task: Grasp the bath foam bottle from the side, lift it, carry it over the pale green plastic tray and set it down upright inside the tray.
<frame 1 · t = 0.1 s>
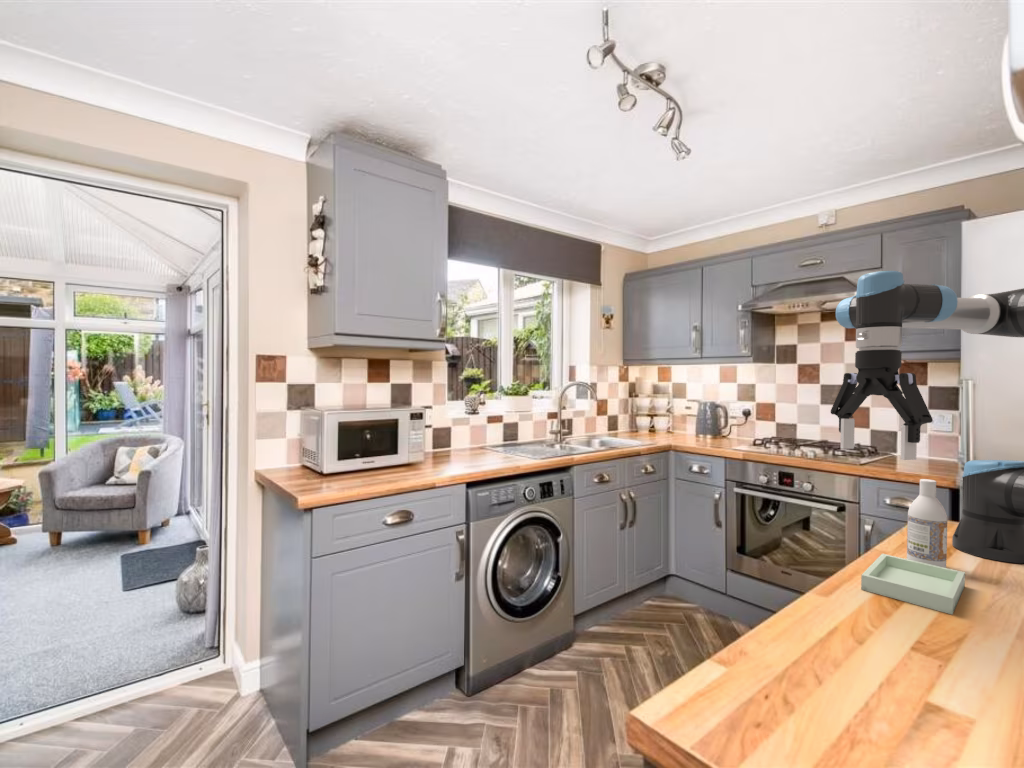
hand: (875, 453, 99), 28 cm above the countertop, fingers open, 13 cm apart
tray: (913, 587, 101), on the countertop
bath foam: (925, 567, 112), on the countertop
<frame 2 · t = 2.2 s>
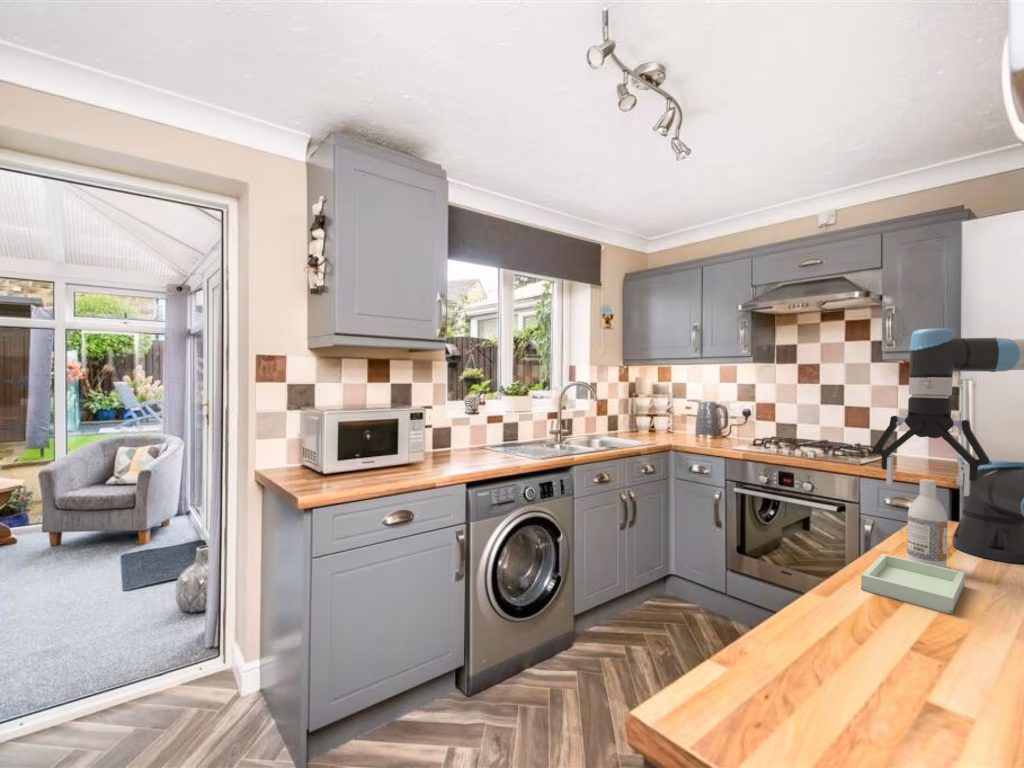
hand: (926, 489, 112), 18 cm above the countertop, fingers open, 13 cm apart
nothing on the countertop moved.
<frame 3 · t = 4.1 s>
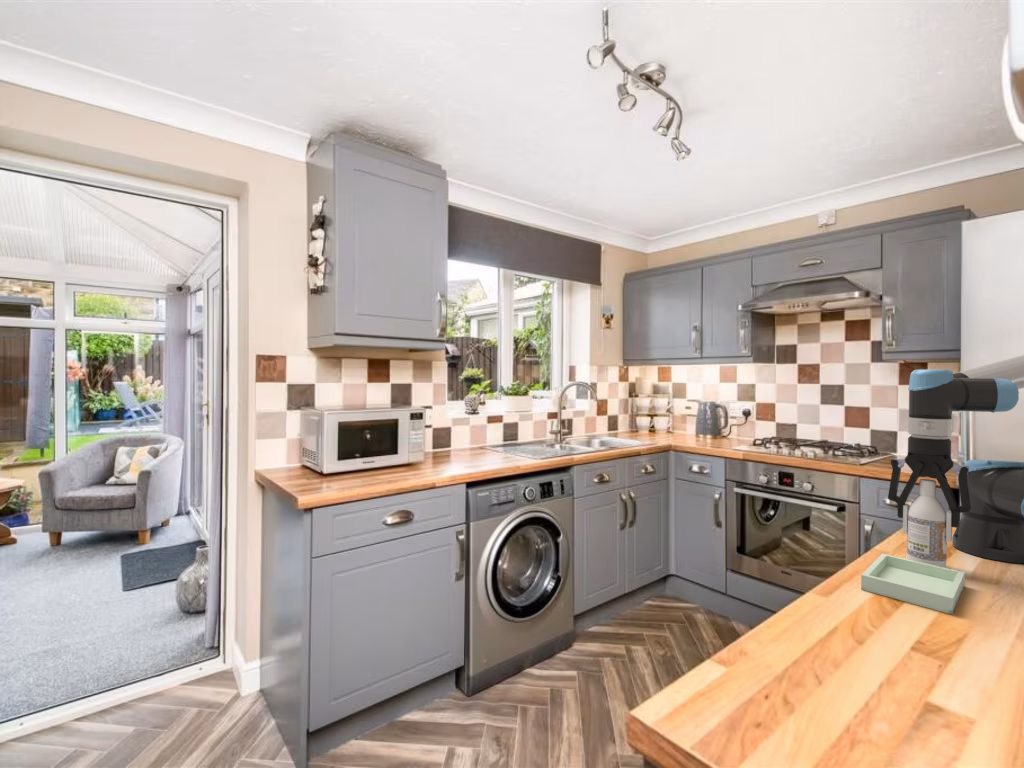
hand: (926, 536, 112), 7 cm above the countertop, fingers closed on bath foam, 7 cm apart
bath foam: (925, 567, 112), on the countertop, touching gripper
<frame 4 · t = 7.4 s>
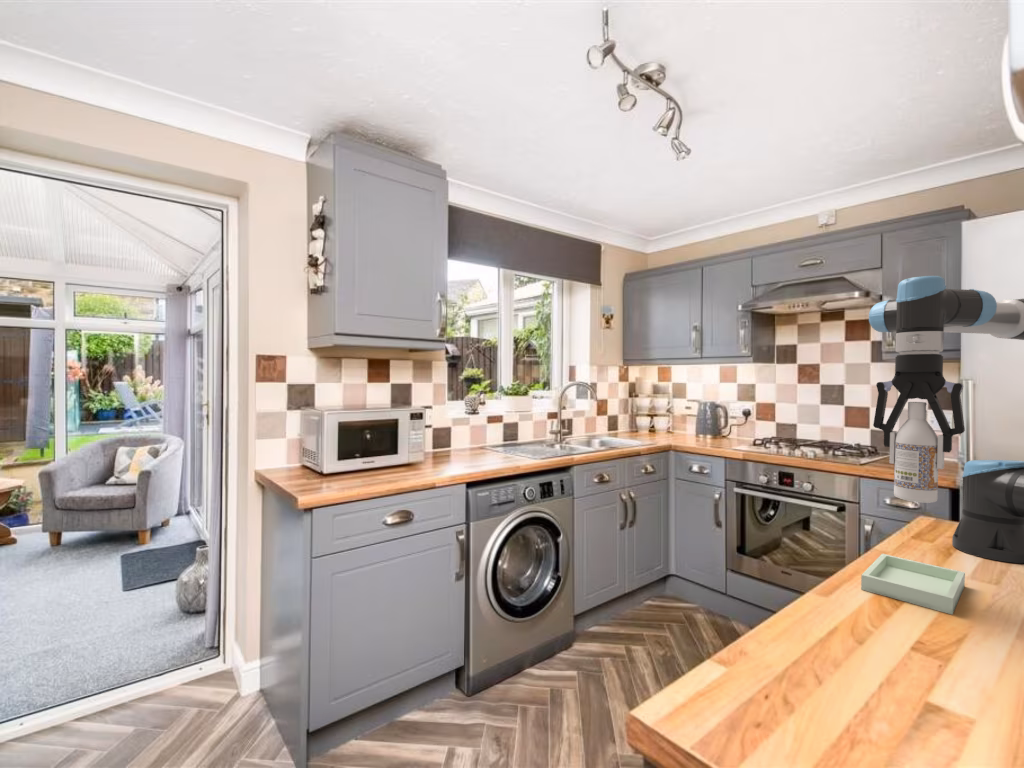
hand: (916, 465, 100), 25 cm above the countertop, fingers closed on bath foam, 7 cm apart
bath foam: (915, 500, 101), point 18 cm above the countertop, touching gripper
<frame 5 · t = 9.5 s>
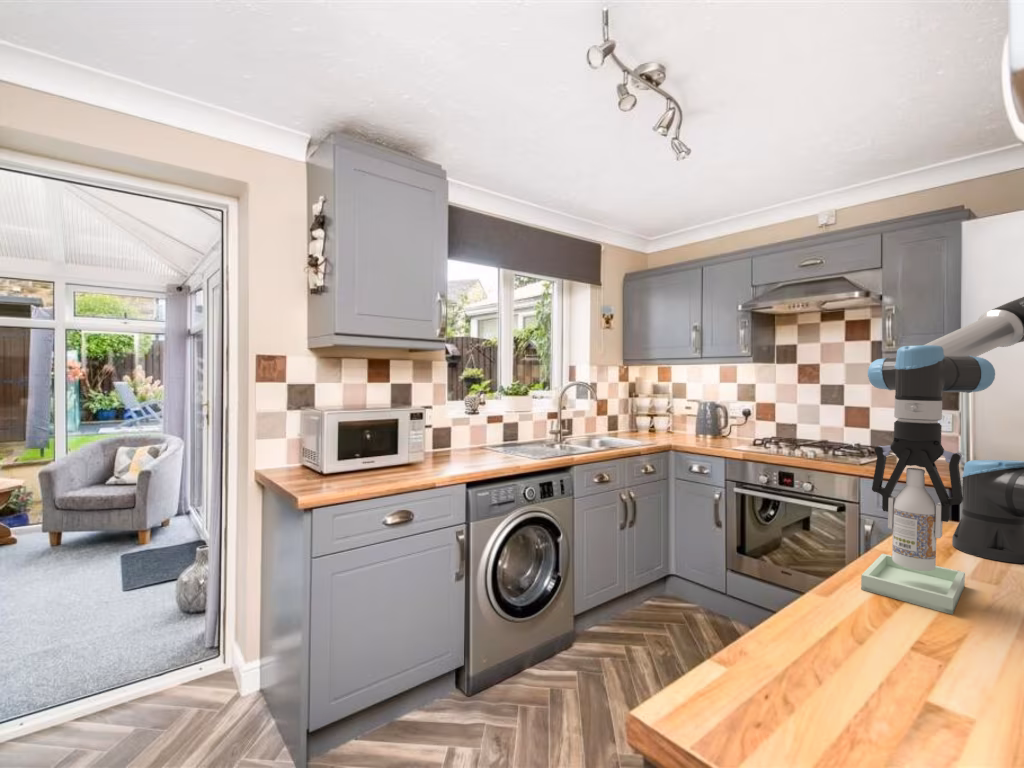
hand: (914, 531, 101), 12 cm above the countertop, fingers closed on bath foam, 7 cm apart
bath foam: (913, 566, 101), point 5 cm above the countertop, touching gripper
when the fingers open (9 cm above the countertop, at t = 11.0 s): bath foam drops 1 cm, resting on tray.
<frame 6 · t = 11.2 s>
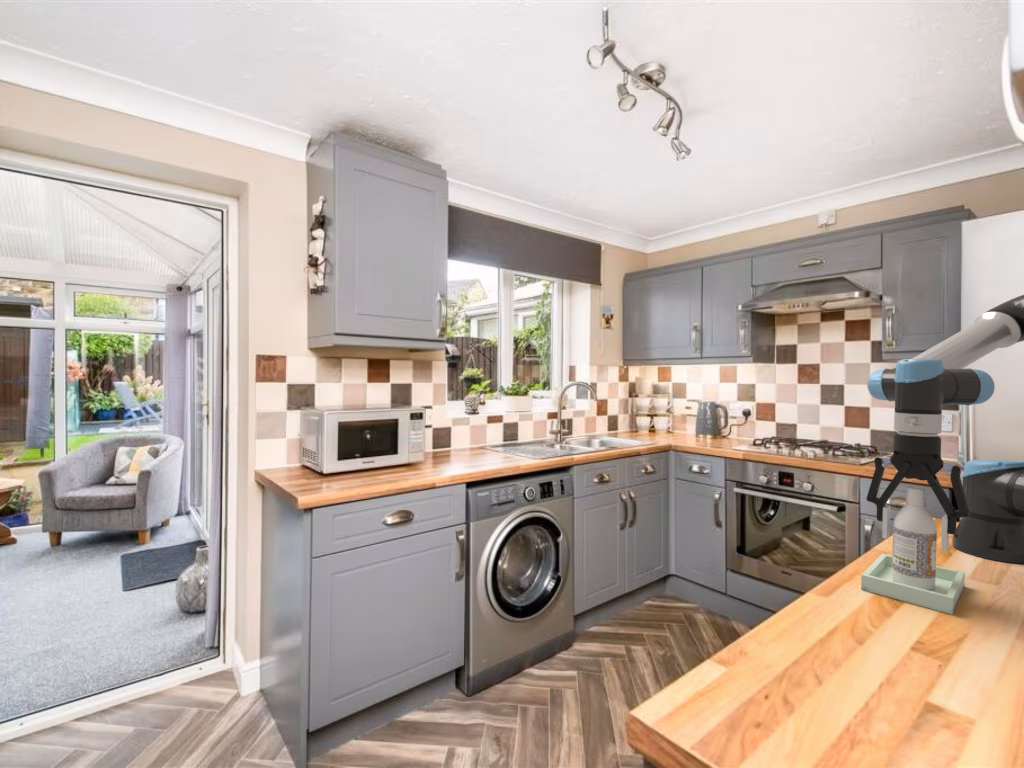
hand: (914, 542, 101), 9 cm above the countertop, fingers open, 9 cm apart
bath foam: (913, 584, 101), point 1 cm above the countertop, touching tray
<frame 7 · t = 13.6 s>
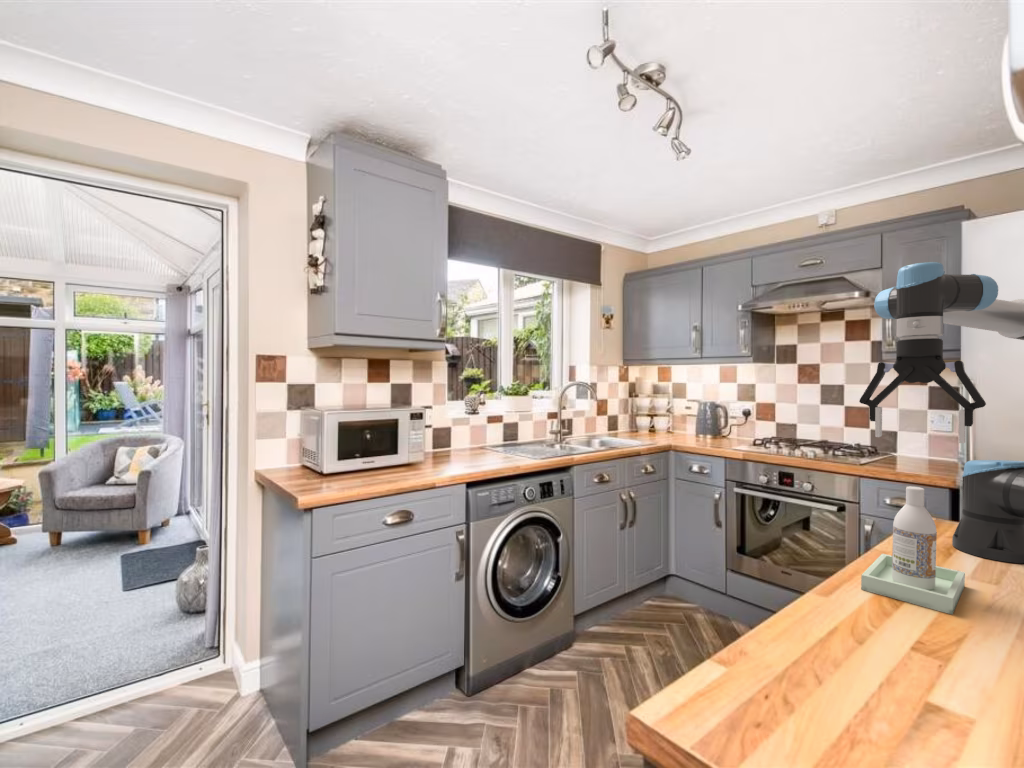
hand: (918, 439, 103), 30 cm above the countertop, fingers open, 13 cm apart
nothing on the countertop moved.
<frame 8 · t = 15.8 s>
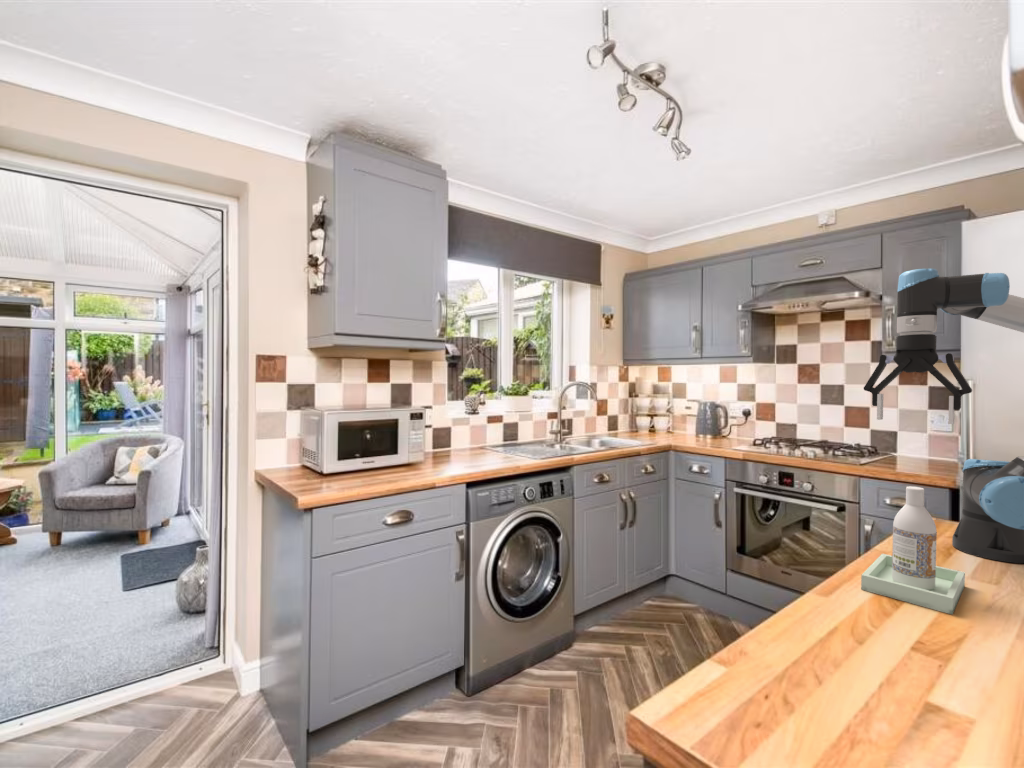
hand: (914, 421, 119), 33 cm above the countertop, fingers open, 13 cm apart
nothing on the countertop moved.
at the end: bath foam 0.1 cm from the tray (horizontally); bath foam tilted 0°; bath foam point 0.6 cm above the countertop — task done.
